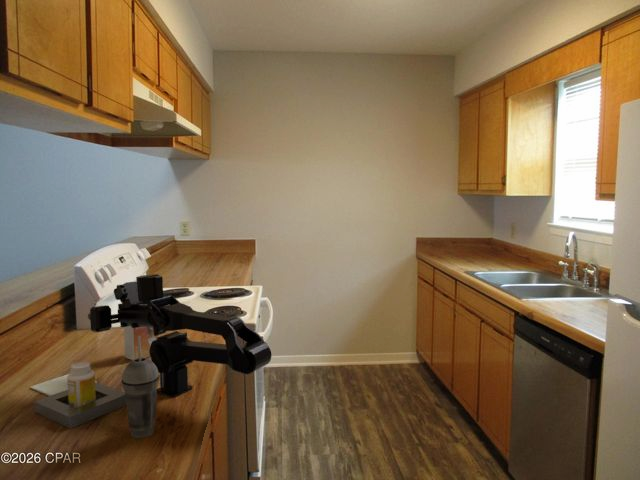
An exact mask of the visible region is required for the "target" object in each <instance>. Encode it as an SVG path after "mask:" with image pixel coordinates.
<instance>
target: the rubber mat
mask: <svg viewBox="0 0 640 480" xmlns="http://www.w3.org/2000/svg"><path fill="white" fill-rule="evenodd" d="M69 374H70V373H68V374H65V375H62V376H59V377H56V378H53V379H49V380H46V381H44V382H43V381H42V382H40V383H37V384H34V385H31V386H30V389H32V390H34V391H36V392H39V393H41V394H43V395H46V396H47V397H48V396H51V395H54V394H57V393H60V392H62V391H65V390H68V382H67V377H68V375H69ZM95 382H97V383H98V381H97V380H95Z"/></svg>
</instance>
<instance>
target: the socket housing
mask: <svg viewBox="0 0 640 480" xmlns="http://www.w3.org/2000/svg"><path fill="white" fill-rule="evenodd" d="M95 394H96V400H95V401H93V402H90V403H88V404H85V405H83V406H80V407H78V408H74V407H71V406H69V399H68V390H65V391H62V392H60V393H57V394H54V395H51V396H48V395H47V396H45V397H42V398H41V399H37V400H35V401H33V403H34V404H33V405H34V407H33V408H34V413H35V414H38V415H40V416H42V417H43V418H44V417H45V418H46V419H49V420H51V421H52V422H55V423H58V424H60V425H61V426H64V427H66V428H68V429H73V428H75V427H79V425H82V424H86V423H88V422H90V421H92V420H94V419H97V418H99V417H101V416H104V415H106V414H108V413H111V412H113V411H115V410H117V409H119V408H123V407H125V406H127V405H126V397H125V392H124V391H121V390H119V389H116V388H114V387H110V386H107V385H105V384H102V383H99V382H98V381H97V382H95Z"/></svg>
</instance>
